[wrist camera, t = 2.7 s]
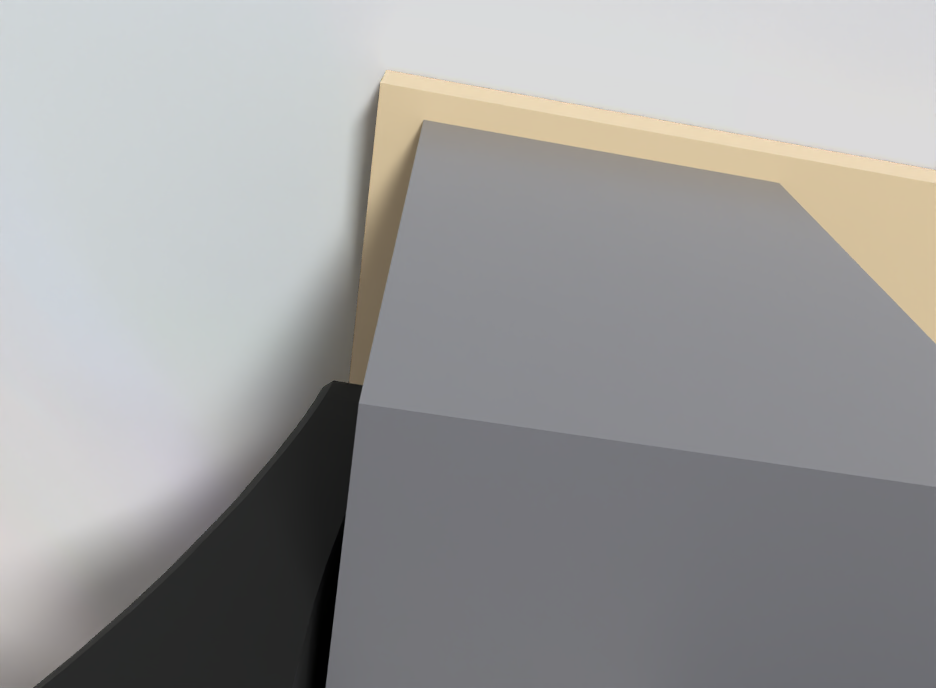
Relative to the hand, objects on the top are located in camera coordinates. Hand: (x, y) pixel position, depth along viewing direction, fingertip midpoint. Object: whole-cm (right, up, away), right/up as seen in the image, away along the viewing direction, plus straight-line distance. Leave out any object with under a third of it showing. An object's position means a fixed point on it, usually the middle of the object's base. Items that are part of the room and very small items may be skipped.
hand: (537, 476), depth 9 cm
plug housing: (0, +1, +1) cm, 1 cm away
